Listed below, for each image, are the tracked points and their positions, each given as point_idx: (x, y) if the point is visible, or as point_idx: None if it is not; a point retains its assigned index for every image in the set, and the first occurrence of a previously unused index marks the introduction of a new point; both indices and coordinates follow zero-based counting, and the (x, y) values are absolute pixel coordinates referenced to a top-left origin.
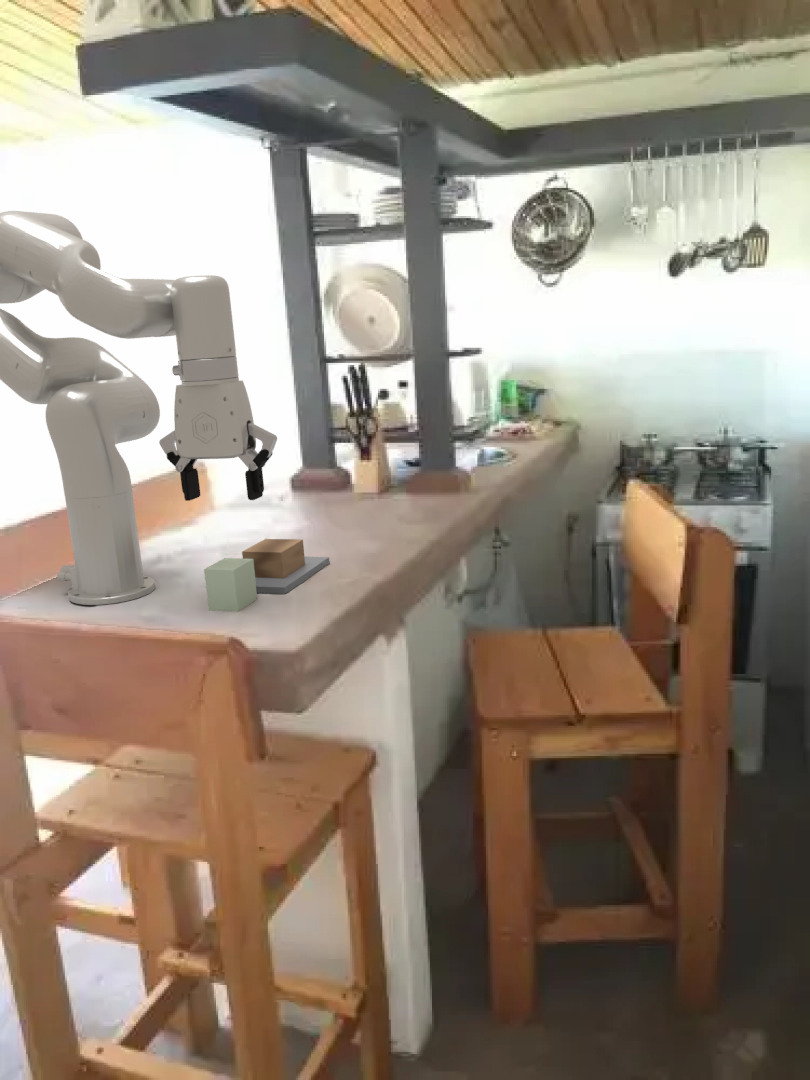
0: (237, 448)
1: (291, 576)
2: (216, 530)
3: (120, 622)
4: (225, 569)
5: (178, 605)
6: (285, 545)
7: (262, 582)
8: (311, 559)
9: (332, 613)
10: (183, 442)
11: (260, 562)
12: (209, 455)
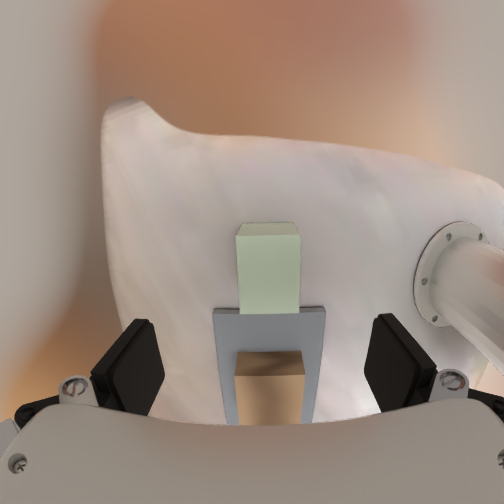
0: (35, 423)
1: (231, 359)
2: None
3: (393, 161)
4: (254, 238)
5: (354, 243)
6: (249, 405)
7: (259, 331)
8: None
9: (117, 245)
10: (485, 467)
11: (273, 365)
12: (251, 434)
